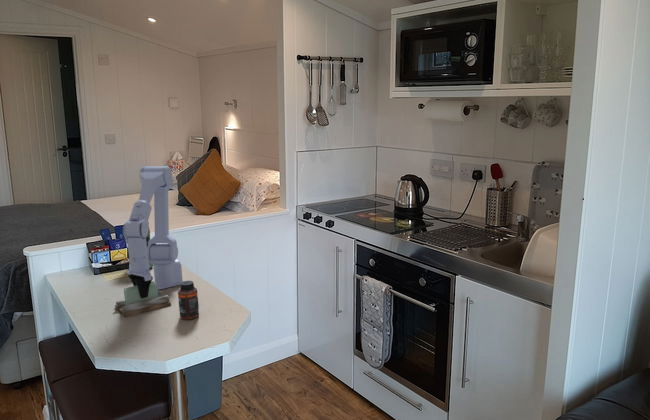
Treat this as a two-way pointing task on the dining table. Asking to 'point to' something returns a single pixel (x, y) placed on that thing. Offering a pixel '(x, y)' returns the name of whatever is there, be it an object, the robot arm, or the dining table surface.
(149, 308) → the brown shallow piece
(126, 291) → the pale green block
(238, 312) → the dining table surface
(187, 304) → the supplement bottle
